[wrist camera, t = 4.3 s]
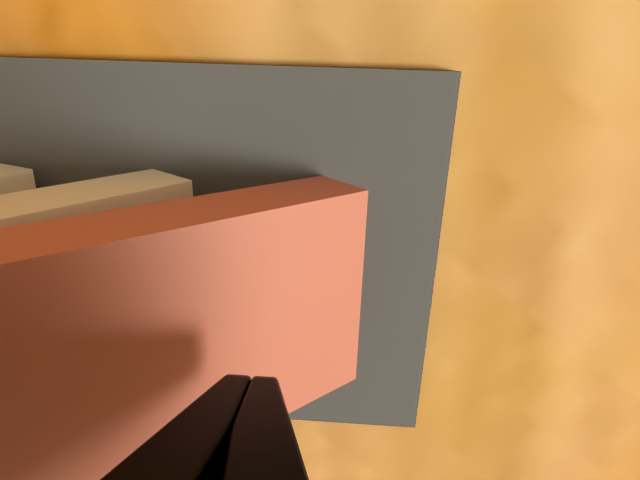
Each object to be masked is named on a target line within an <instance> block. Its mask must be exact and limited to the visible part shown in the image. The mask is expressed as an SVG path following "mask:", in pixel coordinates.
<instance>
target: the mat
mask: <svg viewBox="0 0 640 480" xmlns="http://www.w3.org/2000/svg"><path fill="white" fill-rule="evenodd" d="M460 77H461V72H460V71H437V70H405V69H374V68H342V67H311V66H279V65H248V64H216V63H185V62H153V61H122V60H90V59H59V58H27V57H0V163H2V164H7V165H13V166H18V167H23V168H29V169H33V174H34V180H35V185H36V189H37V188H42V187H48V186H54V185H60V184H66V183H72V182H78V181H83V180H89V179H95V178H101V177H107V176H113V175H119V174H124V173H130V172H136V171H142V170H148V169H155V170H159V171H162V172H166V173H169V174H172V175H176V176H179V177H182V178H186V179H189V180H192V189H193V196H200V195H206V194H212V193H218V192H224V191H230V190H236V189H243V188H249V187H255V186H261V185H267V184H273V183H279V182H285V181H292V180H298V179H304V178H310V177H316V176H326V177H329V178H332V179H335V180H338V181H341V182H344V183H347V184H350V185H354V186H357V187H360V188H363V189H366V190H368V203H367V218H366V233H365V248H364V263H363V278H362V293H361V308H360V323H359V338H358V353H357V367H356V379H354V380H352V381H350V382H349V383H347V384H345V385H343V386H341V387H339V388H337V389H335V390H333V391H331V392H329V393H327V394H325V395H323V396H322V397H320V398H318V399H316V400H314V401H312V402H310V403H308V404H306V405H304V406H302V407H300V408H298V409H296V410H295V411H293V412H291V413H289V417H290V419H295V420H310V421H325V422H340V423H355V424H370V425H385V426H400V427H415V424H416V416H417V408H418V401H419V393H420V385H421V378H422V370H423V362H424V354H425V347H426V339H427V331H428V324H429V316H430V308H431V301H432V293H433V285H434V277H435V270H436V262H437V254H438V247H439V239H440V231H441V223H442V216H443V208H444V200H445V193H446V185H447V177H448V170H449V162H450V154H451V146H452V139H453V131H454V123H455V116H456V108H457V100H458V92H459V85H460Z"/></svg>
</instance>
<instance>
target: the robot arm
mask: <svg viewBox="0 0 640 480" xmlns="http://www.w3.org/2000/svg"><path fill="white" fill-rule="evenodd" d="M100 480H309V479H308V476H307V472H306V469H305V466H304V463H303V459H302V456H301V453H300V450H299V446H298V443H297V440H296V437H295V433H294V430H293V427H292V424H291V420H290V417H289V414H288V411H287V407H286V404H285V401H284V398H283V394H282V391H281V388H280V385H279V381H278V379H277V378H276V377H269V376H254V377H253V378H252V379H251V377H250V376H249V375H237V374H227V375H225V376H224V377H222V378H221V379H220V380H219V381H218V382H216V383H215V384H214V385H213V386H212V387H210V388H209V389H208V390H207V391H206V392H204V393H203V394H202V395H201V396H200V397H198V398H197V399H196V400H195V401H194V402H192V403H191V404H190V405H189V406H188V407H186V408H185V409H184V410H183V411H182V412H180V413H179V414H178V415H177V416H176V417H174V418H173V419H172V420H171V421H170V422H168V423H167V424H166V425H165V426H164V427H162V428H161V429H160V430H159V431H158V432H156V433H155V434H154V435H153V436H152V437H150V438H149V439H148V440H147V441H146V442H145V443H143V444H142V445H141V446H140V447H139V448H137V449H136V450H135V451H134V452H133V453H131V454H130V455H129V456H128V457H127V458H125V459H124V460H123V461H122V462H121V463H119V464H118V465H117V466H116V467H115V468H113V469H112V470H111V471H110V472H109V473H107V474H106V475H105V476H104V477H103V478H101V479H100Z"/></svg>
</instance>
